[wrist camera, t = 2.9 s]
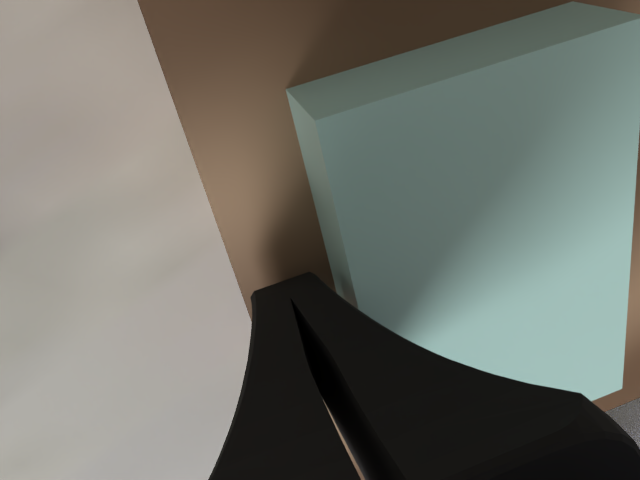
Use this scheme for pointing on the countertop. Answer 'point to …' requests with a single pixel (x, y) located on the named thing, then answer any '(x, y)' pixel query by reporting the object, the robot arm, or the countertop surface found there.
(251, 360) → the robot arm
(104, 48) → the countertop surface
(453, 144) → the pale teal block
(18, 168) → the countertop surface
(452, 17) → the deck
